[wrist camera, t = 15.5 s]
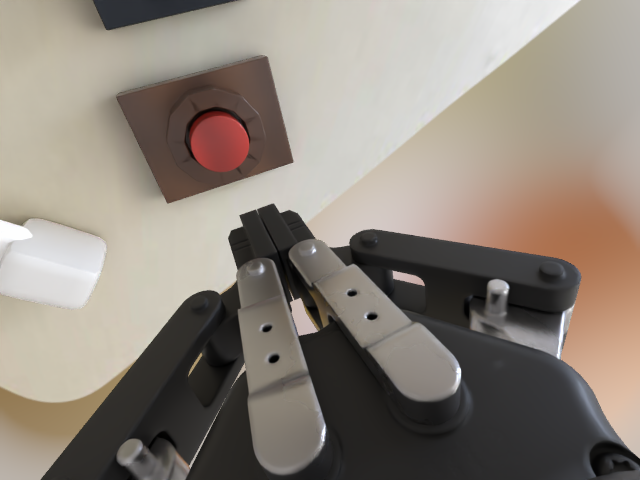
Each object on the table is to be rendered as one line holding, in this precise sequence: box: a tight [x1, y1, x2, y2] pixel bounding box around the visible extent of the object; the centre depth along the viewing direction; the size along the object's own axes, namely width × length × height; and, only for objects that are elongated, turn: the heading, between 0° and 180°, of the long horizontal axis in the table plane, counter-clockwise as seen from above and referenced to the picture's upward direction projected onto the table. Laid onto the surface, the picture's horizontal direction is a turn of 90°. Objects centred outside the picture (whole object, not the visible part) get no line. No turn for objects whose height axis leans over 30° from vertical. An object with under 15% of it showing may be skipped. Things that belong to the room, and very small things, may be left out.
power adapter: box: [0, 218, 107, 310], centre depth 27 cm, size 11×5×6 cm, turn 58°
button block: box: [116, 55, 293, 203], centre depth 29 cm, size 11×8×4 cm
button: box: [189, 111, 249, 172], centre depth 27 cm, size 4×4×2 cm
